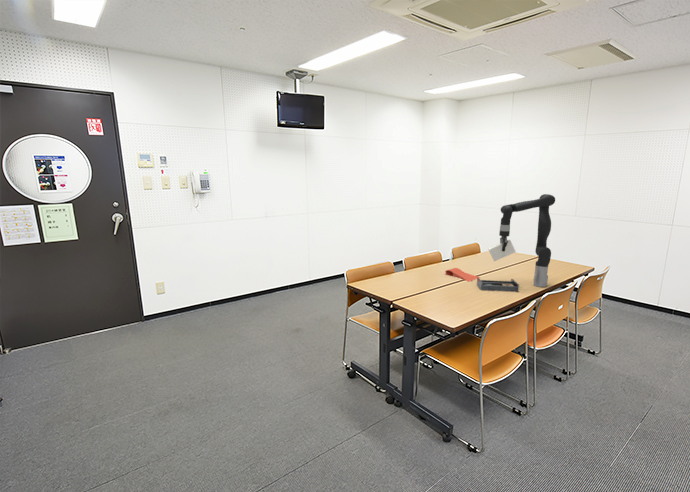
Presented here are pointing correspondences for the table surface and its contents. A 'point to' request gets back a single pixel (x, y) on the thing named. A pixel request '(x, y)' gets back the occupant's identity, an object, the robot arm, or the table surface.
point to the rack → (497, 285)
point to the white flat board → (498, 253)
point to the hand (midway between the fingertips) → (502, 250)
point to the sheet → (461, 274)
